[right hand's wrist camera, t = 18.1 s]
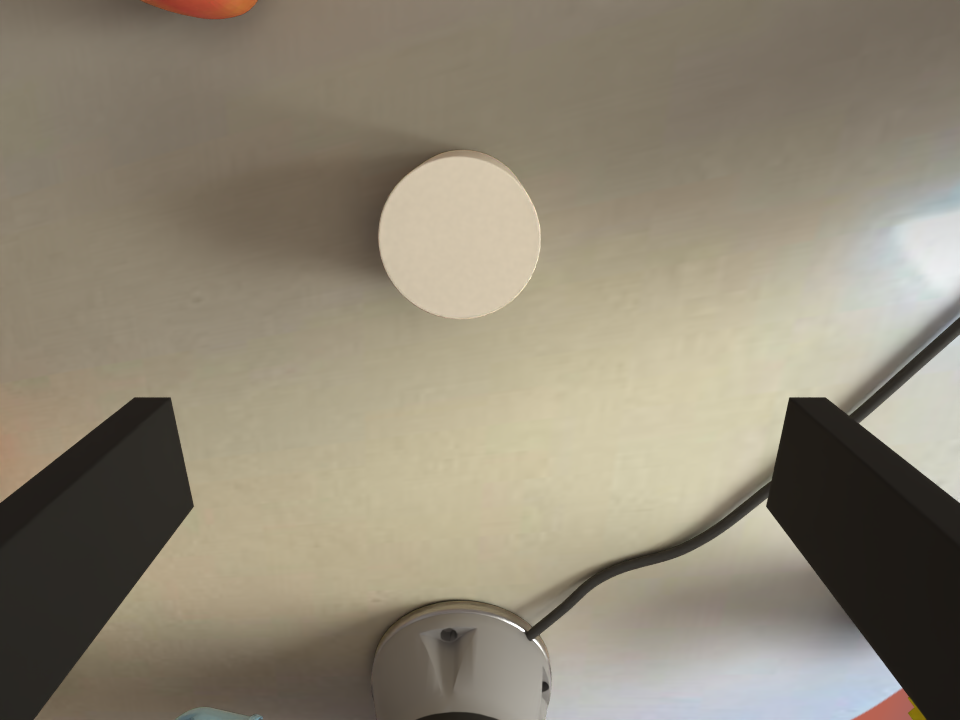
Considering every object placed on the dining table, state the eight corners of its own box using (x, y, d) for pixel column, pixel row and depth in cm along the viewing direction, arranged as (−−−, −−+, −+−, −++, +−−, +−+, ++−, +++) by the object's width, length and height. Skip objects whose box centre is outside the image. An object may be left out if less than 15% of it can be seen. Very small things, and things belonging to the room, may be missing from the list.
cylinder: (394, 281, 39) (377, 314, 32) (397, 144, 36) (378, 149, 29) (523, 290, 39) (531, 324, 32) (537, 155, 36) (550, 162, 29)
